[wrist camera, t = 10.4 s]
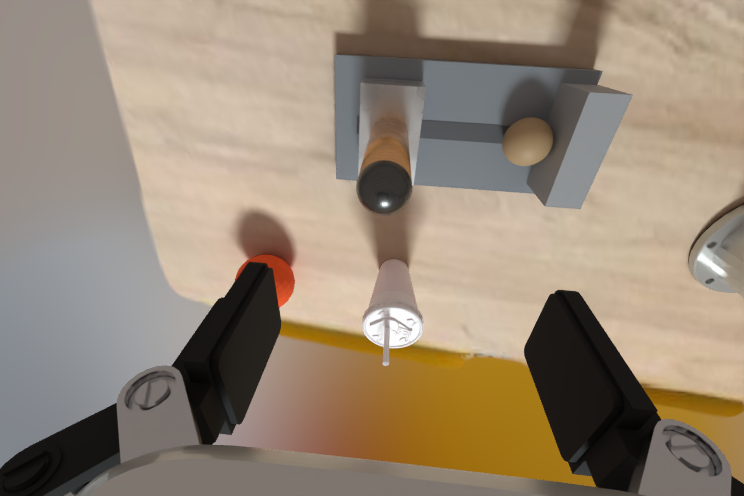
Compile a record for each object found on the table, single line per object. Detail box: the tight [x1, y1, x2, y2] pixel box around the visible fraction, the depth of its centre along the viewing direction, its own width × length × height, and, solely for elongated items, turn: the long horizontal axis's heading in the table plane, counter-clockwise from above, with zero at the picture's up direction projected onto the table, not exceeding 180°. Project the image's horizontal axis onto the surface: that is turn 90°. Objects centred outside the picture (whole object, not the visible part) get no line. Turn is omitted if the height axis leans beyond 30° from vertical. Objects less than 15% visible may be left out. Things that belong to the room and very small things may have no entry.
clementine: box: [235, 255, 295, 308], centre depth 40 cm, size 8×7×7 cm
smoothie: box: [362, 259, 423, 366], centre depth 36 cm, size 6×6×14 cm
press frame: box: [335, 54, 633, 209], centre depth 28 cm, size 22×11×6 cm, turn 87°
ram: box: [356, 78, 426, 215], centre depth 23 cm, size 5×8×15 cm, turn 177°
